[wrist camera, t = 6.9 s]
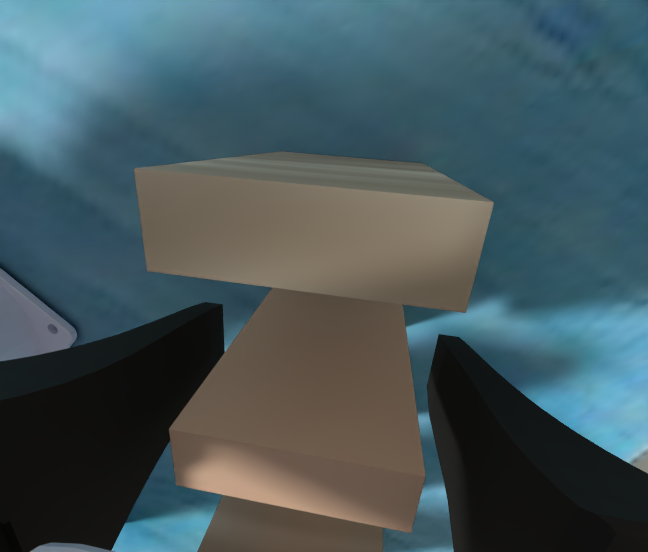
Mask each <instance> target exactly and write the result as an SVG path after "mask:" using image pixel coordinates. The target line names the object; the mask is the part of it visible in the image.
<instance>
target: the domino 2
mask: <svg viewBox="0 0 648 552" xmlns="http://www.w3.org/2000/svg"><path fill="white" fill-rule="evenodd" d="M169 434H170V442H171V450H172V457H173V465H174V473H175V481H176V485H178V486H183V487H188V488H192V489H197V490H202V491H207V492H212V493H217V494H222V495H227V496H232V497H237V498H241V499H246V500H251V501H256V502H261V503H266V504H271V505H276V506H281V507H286V508H290V509H295V510H300V511H305V512H310V513H315V514H320V515H325V516H330V517H335V518H339V519H344V520H349V521H354V522H359V523H364V524H369V525H374V526H379V527H383V528H388V529H393V530H398V531H403V532H408V533H411V531H412V528H413V524H414V520H415V516H416V512H417V508H418V504H419V500H420V496H421V493H422V489H423V485H424V481H425V477H426V476H425V468H424V461H423V453H422V445H421V438H420V430H419V423H418V415H417V408H416V400H415V393H414V385H413V378H412V370H411V362H410V355H409V347H408V340H407V332H406V325H405V317H404V310H403V305H402V304H394V303H387V302H379V301H372V300H364V299H356V298H349V297H341V296H333V295H326V294H318V293H310V292H303V291H295V290H287V289H280V288H272V289H271V290H270V292H269V293H268V294H267V296H266V297H265V299H264V300H263V301H262V303H261V304H260V305H259V307H258V308H257V309H256V311H255V312H254V314H253V315H252V316H251V318H250V319H249V320H248V322H247V323H246V324H245V326H244V327H243V329H242V330H241V331H240V333H239V334H238V335H237V337H236V338H235V339H234V341H233V342H232V344H231V345H230V346H229V348H228V349H227V350H226V352H225V353H224V354H223V356H222V357H221V359H220V360H219V361H218V363H217V364H216V365H215V367H214V368H213V369H212V371H211V372H210V374H209V375H208V376H207V378H206V379H205V380H204V382H203V383H202V384H201V386H200V387H199V389H198V390H197V391H196V393H195V394H194V395H193V397H192V398H191V399H190V401H189V402H188V404H187V405H186V406H185V408H184V409H183V410H182V412H181V413H180V414H179V416H178V417H177V419H176V420H175V421H174V423H173V424H172V425H171V427H170V428H169Z"/></svg>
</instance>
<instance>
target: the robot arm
mask: <svg viewBox="0 0 648 552" xmlns="http://www.w3.org/2000/svg"><path fill="white" fill-rule="evenodd" d="M76 338H77V332H76V330H75V329H74V328H73V327H72V326H71V325H70V324H69V323H68V322H66V321H65V320H64V319H63V318H61V317H60V316H59V315H58V314H56V313H55V312H54V311H53V310H52V309H50V308H49V307H48V306H47V305H45V304H44V303H43V302H42V301H40V300H39V299H38V298H37V297H35V296H34V295H33V294H32V293H31V292H29V291H28V290H27V289H26V288H24V287H23V286H22V285H21V284H19V283H18V282H17V281H16V280H14V279H13V278H12V277H11V276H10V275H8V274H7V273H6V272H5V271H3V270H2V269H1V268H0V552H114V551H111V550H112V548H113V546H114V544H115V542H116V540H117V538H118V536H119V534H120V532H121V530H122V528H123V526H124V524H125V522H126V520H127V518H128V516H129V514H130V512H131V510H132V508H133V506H134V504H135V502H136V500H137V498H138V497H139V495H140V493H141V491H142V489H143V487H144V485H145V483H146V481H147V480H148V478H149V476H150V474H151V472H152V471H153V469H154V467H155V465H156V463H157V462H158V460H159V458H160V456H161V455H162V453H163V451H164V449H165V448H166V446H167V444H168V443H169V441H170V434H169V428H170V427H171V425H172V424H173V423H174V421H175V420H176V419H177V417H178V416H179V414H180V413H181V412H182V410H183V409H184V408H185V406H186V405H187V404H188V402H189V401H190V399H191V398H192V397H193V395H194V394H195V393H196V391H197V390H198V389H199V387H200V386H201V384H202V383H203V382H204V380H205V379H206V378H207V376H208V375H209V374H210V372H211V371H212V369H213V368H214V367H215V365H216V364H217V363H218V361H219V360H220V359H221V357H222V356H223V354H224V353H225V352H224V329H223V305H222V304H215V303H208V302H204V303H201V304H197V305H194V306H192V307H189V308H186V309H184V310H181V311H179V312H176V313H174V314H171V315H169V316H166V317H164V318H161V319H159V320H156V321H154V322H151V323H148V324H146V325H143V326H140V327H137V328H134V329H132V330H129V331H126V332H123V333H121V334H118V335H115V336H111V337H108V338H105V339H102V340H98V341H94V342H91V343H87V344H84V345H80V346H76V347H72V348H70V347H71V345H72V344H73V343H74V341H75V340H76ZM427 394H428V406H429V416H430V420H431V425H432V430H433V434H434V439H435V443H436V448H437V452H438V456H439V461H440V465H441V470H442V474H443V478H444V483H445V488H446V494H447V499H448V506H449V514H450V522H451V530H452V539H453V548H454V552H648V474H647V473H646V472H644V471H642V470H640V469H638V468H636V467H634V466H632V465H631V464H629V463H627V462H625V461H623V460H622V459H620V458H618V457H616V456H615V455H613V454H611V453H609V452H608V451H606V450H604V449H603V448H601V447H599V446H598V445H596V444H594V443H593V442H591V441H589V440H588V439H586V438H585V437H583V436H581V435H580V434H578V433H576V432H575V431H573V430H572V429H570V428H569V427H567V426H566V425H564V424H563V423H561V422H560V421H558V420H557V419H556V418H554V417H553V416H551V415H550V414H549V413H547V412H546V411H544V410H543V409H541V408H540V407H539V406H537V405H536V404H535V403H533V402H532V401H531V400H530V399H528V398H527V397H526V396H525V395H523V394H522V393H521V392H520V391H518V390H517V389H516V388H515V387H514V386H512V385H511V384H510V383H509V382H508V381H507V380H505V379H504V378H503V377H502V376H501V375H500V374H499V373H497V372H496V371H495V370H494V369H493V368H492V367H491V366H490V365H489V364H488V363H487V362H485V361H484V360H483V359H482V358H481V357H480V356H479V355H478V354H477V353H476V352H475V351H474V350H473V349H472V348H471V347H470V346H468V345H467V344H466V343H465V342H464V341H463V340H462V339H461V338H459V337H455V336H447V335H440V334H439V336H438V340H437V345H436V349H435V353H434V358H433V362H432V366H431V371H430V375H429V380H428V384H427Z"/></svg>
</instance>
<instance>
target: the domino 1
mask: <svg viewBox="0 0 648 552" xmlns="http://www.w3.org/2000/svg"><path fill="white" fill-rule="evenodd" d="M134 174H135V182H136V190H137V198H138V205H139V213H140V221H141V228H142V236H143V244H144V252H145V259H146V267H147V271H150V272H158V273H165V274H173V275H180V276H188V277H196V278H203V279H211V280H219V281H226V282H234V283H242V284H249V285H257V286H265V287H272V288H280V289H287V290H295V291H303V292H310V293H318V294H326V295H333V296H341V297H349V298H356V299H364V300H372V301H379V302H387V303H394V304H402V305H410V306H417V307H425V308H433V309H440V310H448V311H456V312H463V313H466V311H467V307H468V303H469V299H470V295H471V291H472V287H473V283H474V279H475V275H476V271H477V268H478V264H479V260H480V256H481V252H482V248H483V244H484V240H485V236H486V232H487V228H488V225H489V221H490V217H491V213H492V209H493V205H494V202H493V201H491V200H489V199H487V198H485V197H483V196H482V195H480V194H478V193H476V192H474V191H473V190H471V189H469V188H467V187H465V186H464V185H462V184H460V183H458V182H456V181H454V180H453V179H451V178H449V177H447V176H445V175H444V174H442V173H440V172H438V171H436V170H435V169H433V168H431V167H429V166H427V165H425V164H424V163H413V162H401V161H389V160H377V159H366V158H354V157H342V156H330V155H318V154H306V153H294V152H283V151H280V152H271V153H262V154H254V155H245V156H236V157H227V158H219V159H210V160H201V161H193V162H184V163H175V164H166V165H158V166H149V167H140V168H134Z"/></svg>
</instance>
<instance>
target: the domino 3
mask: <svg viewBox="0 0 648 552" xmlns="http://www.w3.org/2000/svg"><path fill="white" fill-rule="evenodd" d="M198 552H383V527H379V526H374V525H369V524H364V523H359V522H354V521H349V520H344V519H339V518H335V517H330V516H325V515H320V514H315V513H310V512H305V511H300V510H295V509H290V508H286V507H281V506H276V505H271V504H266V503H261V502H256V501H251V500H246V499H241V498H237V497H232V496H227V495H222V498H221V500H220V502H219V504H218V507H217V509H216V511H215V513H214V516H213V518H212V520H211V522H210V525H209V527H208V529H207V531H206V534H205V536H204V538H203V540H202V543H201V545H200V547H199V549H198Z"/></svg>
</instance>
